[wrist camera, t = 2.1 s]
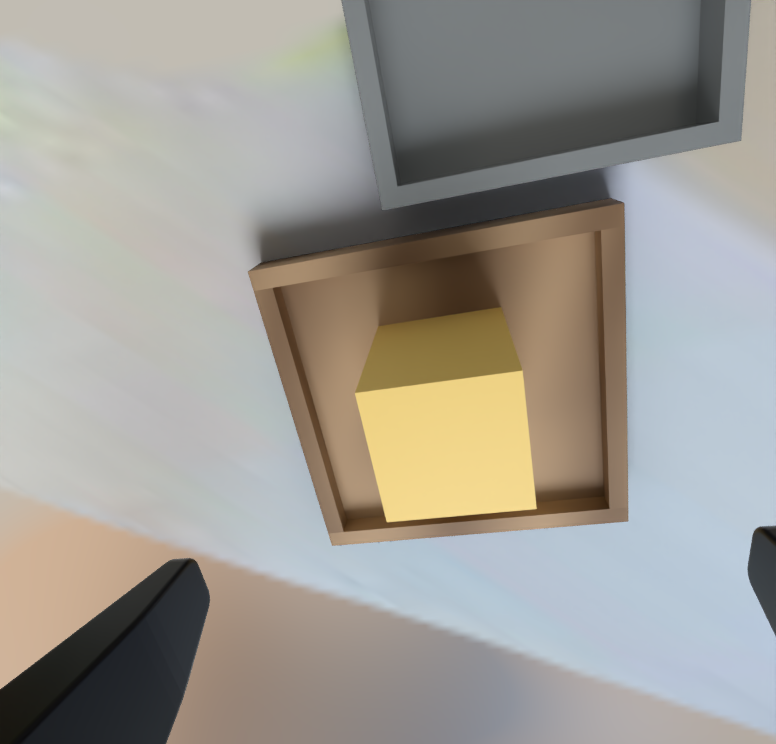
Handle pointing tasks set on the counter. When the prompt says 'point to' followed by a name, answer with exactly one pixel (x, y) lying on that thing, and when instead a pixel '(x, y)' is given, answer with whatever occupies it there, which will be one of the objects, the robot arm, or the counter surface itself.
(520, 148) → the dish
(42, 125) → the counter surface
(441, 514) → the block
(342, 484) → the tray
